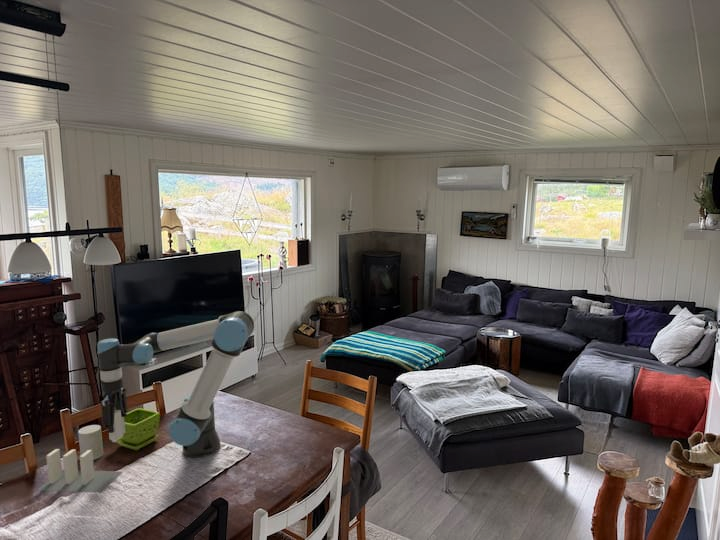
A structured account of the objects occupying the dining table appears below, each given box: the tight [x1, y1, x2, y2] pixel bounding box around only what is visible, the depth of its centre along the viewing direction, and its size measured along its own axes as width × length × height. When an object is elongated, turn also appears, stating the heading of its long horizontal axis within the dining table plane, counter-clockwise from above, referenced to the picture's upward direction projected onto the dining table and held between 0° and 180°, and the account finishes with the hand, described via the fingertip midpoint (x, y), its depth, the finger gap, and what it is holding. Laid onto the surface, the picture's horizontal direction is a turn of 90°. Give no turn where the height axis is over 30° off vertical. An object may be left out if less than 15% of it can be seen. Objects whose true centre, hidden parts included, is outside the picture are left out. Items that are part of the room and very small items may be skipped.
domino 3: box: [79, 450, 95, 485], centre depth 183 cm, size 2×5×11 cm, turn 175°
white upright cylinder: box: [77, 424, 104, 461], centre depth 202 cm, size 8×8×12 cm
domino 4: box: [111, 409, 123, 443], centre depth 192 cm, size 2×5×11 cm, turn 175°
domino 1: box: [45, 448, 63, 484], centre depth 184 cm, size 2×5×11 cm, turn 175°
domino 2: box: [62, 448, 79, 484], centre depth 184 cm, size 2×5×11 cm, turn 175°
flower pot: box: [116, 407, 161, 451], centre depth 212 cm, size 14×14×13 cm
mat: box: [36, 469, 124, 494], centre depth 184 cm, size 25×14×1 cm, turn 85°
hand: (117, 435), depth 192 cm, fingers closed on domino 4, 5 cm apart
